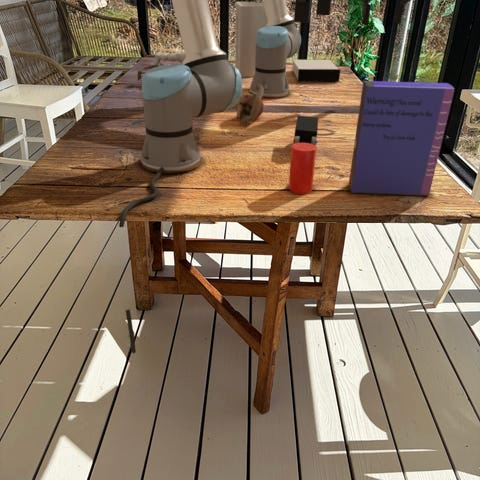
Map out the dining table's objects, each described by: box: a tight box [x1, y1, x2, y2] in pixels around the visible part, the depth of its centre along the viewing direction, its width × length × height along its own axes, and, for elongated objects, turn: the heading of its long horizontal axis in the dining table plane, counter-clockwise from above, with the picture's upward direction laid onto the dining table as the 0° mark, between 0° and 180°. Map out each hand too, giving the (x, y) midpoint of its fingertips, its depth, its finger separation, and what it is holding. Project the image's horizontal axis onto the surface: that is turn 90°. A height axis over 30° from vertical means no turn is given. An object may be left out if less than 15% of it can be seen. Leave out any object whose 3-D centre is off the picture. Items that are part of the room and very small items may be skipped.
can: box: [288, 143, 317, 195], centre depth 108 cm, size 6×6×10 cm
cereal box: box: [348, 80, 455, 197], centre depth 104 cm, size 17×5×24 cm, turn 86°
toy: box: [153, 50, 186, 67], centre depth 224 cm, size 24×25×7 cm
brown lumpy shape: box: [234, 84, 265, 127], centre depth 152 cm, size 13×9×15 cm
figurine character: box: [292, 115, 319, 147], centre depth 131 cm, size 7×8×15 cm
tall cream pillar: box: [234, 1, 267, 78], centre depth 210 cm, size 19×15×28 cm
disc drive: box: [292, 59, 341, 83], centre depth 211 cm, size 18×22×5 cm
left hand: (312, 18), depth 92 cm, fingers open, 13 cm apart
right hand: (381, 24), depth 171 cm, fingers open, 13 cm apart
